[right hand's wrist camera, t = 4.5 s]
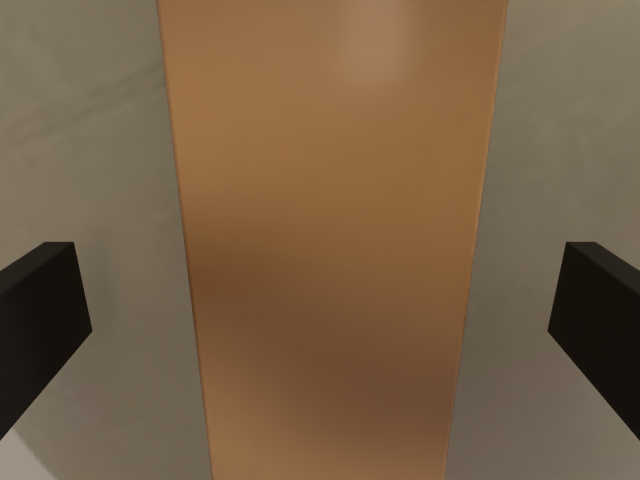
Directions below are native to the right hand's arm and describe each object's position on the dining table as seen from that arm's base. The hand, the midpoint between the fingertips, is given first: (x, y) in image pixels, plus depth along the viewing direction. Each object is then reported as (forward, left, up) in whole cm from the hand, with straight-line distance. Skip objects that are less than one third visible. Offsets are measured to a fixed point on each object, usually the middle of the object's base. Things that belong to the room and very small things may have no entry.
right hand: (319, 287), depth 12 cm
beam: (-21, -4, -3) cm, 22 cm away
